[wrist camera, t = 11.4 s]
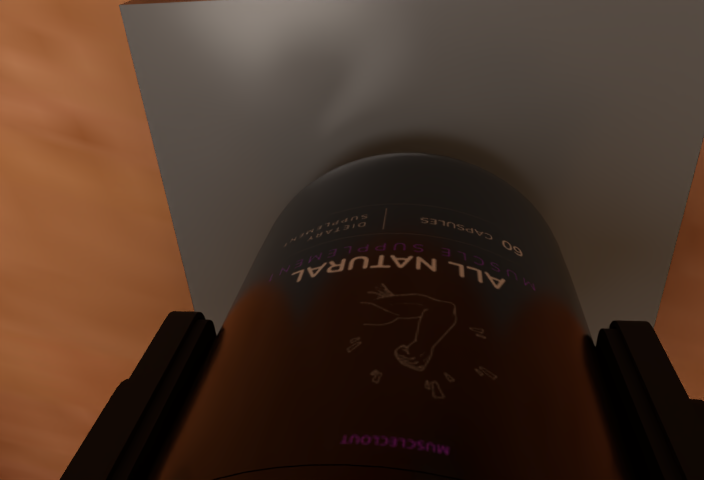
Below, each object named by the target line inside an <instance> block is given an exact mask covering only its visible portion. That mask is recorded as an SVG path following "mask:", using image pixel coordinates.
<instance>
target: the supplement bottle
mask: <svg viewBox="0 0 704 480" xmlns="http://www.w3.org/2000/svg"><path fill="white" fill-rule="evenodd" d="M146 480H641V478H640V475H639V472H638V469H637V466H636V463H635V461H634V458H633V455H632V452H631V449H630V446H629V443H628V440H627V437H626V435H625V432H624V429H623V426H622V423H621V420H620V417H619V414H618V411H617V408H616V406H615V403H614V400H613V397H612V394H611V391H610V388H609V385H608V382H607V380H606V377H605V374H604V371H603V368H602V365H601V362H600V359H599V356H598V354H597V351H596V348H595V345H594V342H593V339H592V336H591V333H590V330H589V328H588V325H587V322H586V319H585V316H584V313H583V310H582V307H581V304H580V302H579V299H578V296H577V293H576V290H575V287H574V284H573V281H572V279H571V276H570V273H569V271H568V268H567V266H566V263H565V261H564V258H563V255H562V253H561V250H560V247H559V245H558V242H557V241H556V239H555V237H554V235H553V233H552V231H551V229H550V227H549V225H548V224H547V222H546V221H545V220H544V218H543V217H542V215H541V214H540V212H539V211H538V210H537V209H536V208H535V207H534V206H533V204H532V203H531V202H530V201H529V200H528V199H527V198H526V197H525V196H523V195H522V194H521V193H520V192H519V191H518V190H516V189H515V188H514V187H512V186H511V185H510V184H508V183H507V182H506V181H504V180H503V179H501V178H499V177H498V176H496V175H494V174H493V173H491V172H489V171H487V170H485V169H482V168H480V167H478V166H476V165H473V164H470V163H468V162H465V161H462V160H459V159H455V158H451V157H447V156H442V155H436V154H430V153H417V152H399V153H388V154H380V155H375V156H370V157H365V158H362V159H358V160H355V161H352V162H349V163H347V164H344V165H342V166H339V167H337V168H335V169H333V170H331V171H329V172H327V173H326V174H324V175H322V176H320V177H319V178H317V179H316V180H314V181H313V182H311V183H310V184H308V185H307V186H306V187H305V188H304V189H302V190H301V191H300V192H299V193H298V194H297V195H296V196H295V197H294V198H293V199H292V200H291V201H290V202H289V203H288V204H287V206H286V207H285V208H284V210H283V211H282V212H281V214H280V215H279V217H278V218H277V219H276V221H275V223H274V224H273V226H272V228H271V230H270V231H269V233H268V235H267V237H266V239H265V241H264V243H263V245H262V246H261V248H260V250H259V252H258V254H257V256H256V258H255V260H254V262H253V264H252V266H251V268H250V270H249V272H248V274H247V276H246V278H245V280H244V282H243V284H242V286H241V288H240V290H239V292H238V294H237V296H236V298H235V300H234V302H233V304H232V306H231V308H230V310H229V312H228V314H227V316H226V318H225V320H224V322H223V324H222V326H221V328H220V330H219V332H218V334H217V336H216V339H215V341H214V343H213V345H212V347H211V349H210V351H209V353H208V355H207V357H206V359H205V361H204V363H203V365H202V367H201V369H200V371H199V373H198V375H197V377H196V379H195V381H194V383H193V385H192V387H191V389H190V391H189V393H188V395H187V397H186V399H185V401H184V403H183V405H182V407H181V409H180V411H179V413H178V415H177V417H176V419H175V421H174V423H173V425H172V427H171V429H170V431H169V433H168V435H167V437H166V439H165V441H164V444H163V446H162V448H161V450H160V452H159V454H158V456H157V458H156V460H155V462H154V464H153V466H152V468H151V470H150V472H149V474H148V476H147V478H146Z"/></svg>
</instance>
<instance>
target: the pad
mask: <svg viewBox="0 0 704 480" xmlns="http://www.w3.org/2000/svg"><path fill="white" fill-rule="evenodd" d="M119 7H120V11H121V15H122V19H123V23H124V27H125V31H126V35H127V39H128V43H129V47H130V51H131V55H132V59H133V64H134V68H135V72H136V76H137V80H138V84H139V88H140V92H141V96H142V100H143V104H144V108H145V112H146V116H147V120H148V124H149V128H150V132H151V136H152V141H153V145H154V149H155V153H156V157H157V161H158V165H159V169H160V173H161V177H162V181H163V185H164V189H165V193H166V197H167V201H168V205H169V209H170V213H171V217H172V222H173V226H174V230H175V234H176V238H177V242H178V246H179V250H180V254H181V258H182V262H183V266H184V270H185V274H186V278H187V282H188V286H189V290H190V294H191V299H192V303H193V307H194V311H195V312H201V313H203V315H204V316H205V319H206V320H212V321H213V323H214V326H215V331H216V335H217V334H218V332H219V330H220V328H221V326H222V324H223V322H224V320H225V318H226V316H227V314H228V312H229V310H230V308H231V306H232V304H233V302H234V300H235V298H236V296H237V294H238V292H239V290H240V288H241V286H242V284H243V282H244V280H245V278H246V276H247V274H248V272H249V270H250V268H251V266H252V264H253V262H254V260H255V258H256V256H257V254H258V252H259V250H260V248H261V246H262V245H263V243H264V241H265V239H266V237H267V235H268V233H269V231H270V230H271V228H272V226H273V224H274V223H275V221H276V219H277V218H278V217H279V215H280V214H281V212H282V211H283V210H284V208H285V207H286V206H287V204H288V203H289V202H290V201H291V200H292V199H293V198H294V197H295V196H296V195H297V194H298V193H299V192H300V191H301V190H302V189H304V188H305V187H306V186H307V185H308V184H310V183H311V182H313V181H314V180H316V179H317V178H319V177H320V176H322V175H324V174H326V173H327V172H329V171H331V170H333V169H335V168H337V167H339V166H342V165H344V164H347V163H349V162H352V161H355V160H358V159H362V158H365V157H370V156H375V155H380V154H388V153H399V152H417V153H430V154H436V155H442V156H447V157H451V158H455V159H459V160H462V161H465V162H468V163H470V164H473V165H476V166H478V167H480V168H482V169H485V170H487V171H489V172H491V173H493V174H494V175H496V176H498V177H499V178H501V179H503V180H504V181H506V182H507V183H508V184H510V185H511V186H512V187H514V188H515V189H516V190H518V191H519V192H520V193H521V194H522V195H523V196H525V197H526V198H527V199H528V200H529V201H530V202H531V203H532V204H533V206H534V207H535V208H536V209H537V210H538V211H539V212H540V214H541V215H542V217H543V218H544V220H545V221H546V222H547V224H548V225H549V227H550V229H551V231H552V233H553V235H554V237H555V239H556V241H557V242H558V245H559V247H560V250H561V253H562V255H563V258H564V261H565V263H566V266H567V268H568V271H569V273H570V276H571V279H572V281H573V284H574V287H575V290H576V293H577V296H578V299H579V302H580V304H581V307H582V310H583V313H584V316H585V319H586V322H587V325H588V328H589V330H590V333H591V336H592V339H593V342H594V345H595V347H596V342H597V337H598V333H599V330H600V329H602V328H609V326H610V324H611V322H612V321H614V320H621V321H647V322H649V323H650V324H651V326H652V327H653V329H654V325H655V321H656V317H657V313H658V310H659V306H660V302H661V298H662V294H663V290H664V287H665V283H666V279H667V275H668V271H669V267H670V264H671V260H672V256H673V252H674V248H675V245H676V241H677V237H678V233H679V229H680V225H681V222H682V218H683V214H684V210H685V206H686V202H687V199H688V195H689V191H690V187H691V183H692V180H693V176H694V172H695V168H696V164H697V160H698V157H699V153H700V149H701V145H702V141H703V137H704V0H131V1H128V2H126V3H123V4H120V5H119Z"/></svg>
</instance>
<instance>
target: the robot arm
mask: <svg viewBox="0 0 704 480" xmlns="http://www.w3.org/2000/svg"><path fill="white" fill-rule="evenodd" d="M216 336H217V335H216V331H215V326H214V323H213V321H212V320H206V319H205V316H204V315H203V313H201V312H182V311H173V312H170V313H169V314H168V316H167V317H166V319H165V320H164V322H163V324H162V325H161V327H160V329H159V330H158V332H157V334H156V335H155V337H154V339H153V340H152V342H151V343H150V345H149V347H148V348H147V350H146V352H145V353H144V355H143V357H142V358H141V360H140V362H139V363H138V365H137V366H136V368H135V370H134V371H133V373H132V375H131V376H130V378H129V379H126V380H124V381H123V382H121V383H120V385H119V386H118V387H117V388H116V390H115V392H114V393H113V395H112V396H111V398H110V400H109V401H108V403H107V404H106V406H105V408H104V409H103V411H102V412H101V414H100V416H99V417H98V419H97V420H96V422H95V424H94V425H93V427H92V429H91V430H90V432H89V433H88V435H87V437H86V438H85V440H84V441H83V443H82V445H81V446H80V448H79V449H78V451H77V453H76V454H75V456H74V457H73V459H72V461H71V462H70V464H69V465H68V467H67V469H66V470H65V472H64V474H63V475H62V477H61V478H60V480H146V478H147V476H148V474H149V472H150V470H151V468H152V466H153V464H154V462H155V460H156V458H157V456H158V454H159V452H160V450H161V448H162V446H163V444H164V441H165V439H166V437H167V435H168V433H169V431H170V429H171V427H172V425H173V423H174V421H175V419H176V417H177V415H178V413H179V411H180V409H181V407H182V405H183V403H184V401H185V399H186V397H187V395H188V393H189V391H190V389H191V387H192V385H193V383H194V381H195V379H196V377H197V375H198V373H199V371H200V369H201V367H202V365H203V363H204V361H205V359H206V357H207V355H208V353H209V351H210V349H211V347H212V345H213V343H214V341H215V339H216ZM595 348H596V351H597V354H598V356H599V359H600V362H601V365H602V368H603V371H604V374H605V377H606V380H607V382H608V385H609V388H610V391H611V394H612V397H613V400H614V403H615V406H616V408H617V411H618V414H619V417H620V420H621V423H622V426H623V429H624V432H625V435H626V437H627V440H628V443H629V446H630V449H631V452H632V455H633V458H634V461H635V463H636V466H637V469H638V472H639V475H640V478H641V480H704V401H702V400H697V399H689V397H688V395H687V393H686V391H685V389H684V387H683V385H682V383H681V381H680V380H679V378H678V376H677V374H676V372H675V370H674V368H673V366H672V364H671V362H670V360H669V358H668V356H667V354H666V352H665V351H664V349H663V347H662V345H661V343H660V341H659V339H658V337H657V335H656V333H655V331H654V329H653V327H652V326H651V324H650V323H649V322H647V321H621V320H614V321H612V322H611V324H610V326H609V328H602V329H600V330H599V333H598V337H597V342H596V347H595Z"/></svg>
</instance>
